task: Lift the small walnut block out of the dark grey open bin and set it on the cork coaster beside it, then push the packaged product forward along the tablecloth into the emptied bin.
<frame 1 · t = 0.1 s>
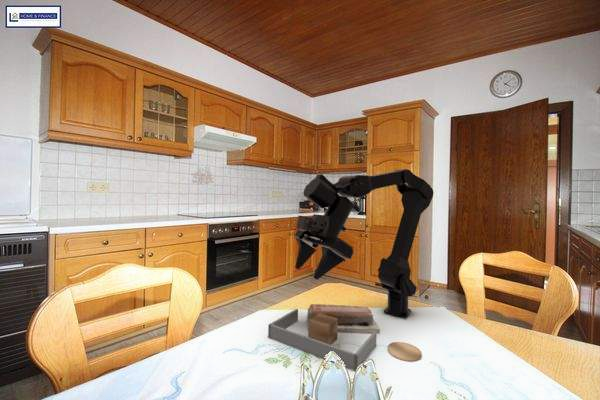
hand: (305, 273, 68), 15 cm above the table, tool tilted 30°, fingers open, 9 cm apart
coaster: (404, 352, 61), on the table
bin: (320, 341, 65), on the table
packaged product: (341, 326, 75), on the table
block: (322, 340, 66), resting in bin
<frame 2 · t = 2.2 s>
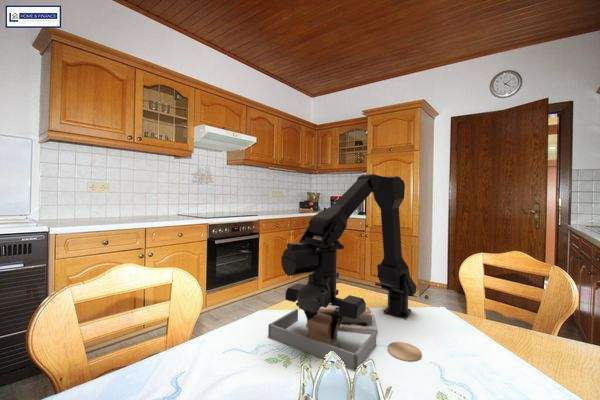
hand: (322, 335, 66), 1 cm above the table, tool pointing down, fingers closed on block, 5 cm apart
block: (322, 340, 66), resting in bin, touching gripper
when the fingers open (2 cm above the table, at t = 6.4 s): block stays where it is, resting on coaster.
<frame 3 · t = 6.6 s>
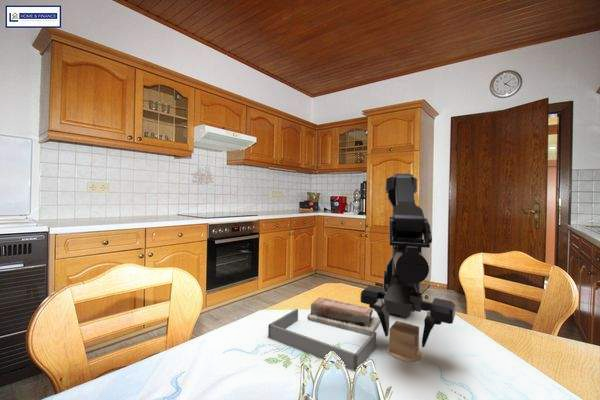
hand: (404, 341, 61), 2 cm above the table, tool pointing down, fingers open, 7 cm apart
packaged product: (343, 322, 77), on the table
block: (404, 350, 61), resting on coaster
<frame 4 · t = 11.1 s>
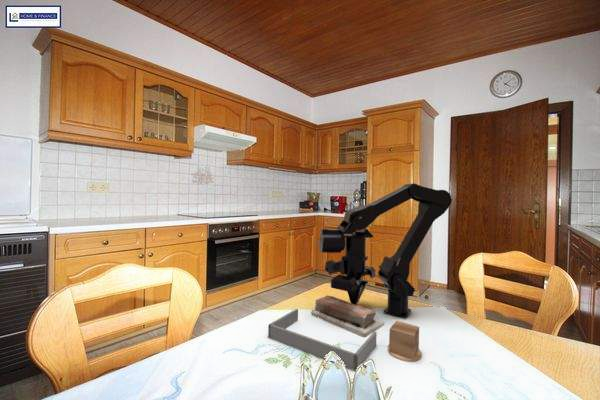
hand: (353, 306, 81), 2 cm above the table, tool pointing down, fingers closed
packaged product: (345, 322, 77), on the table, touching gripper
everything else where it was.
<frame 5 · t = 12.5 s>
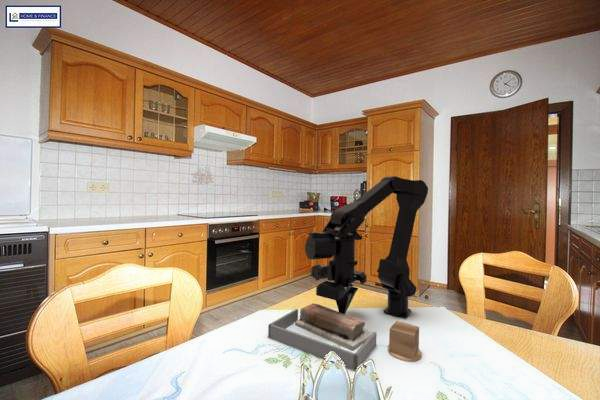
hand: (342, 315, 75), 2 cm above the table, tool pointing down, fingers closed
packaged product: (332, 333, 71), resting in bin
everything else where it was.
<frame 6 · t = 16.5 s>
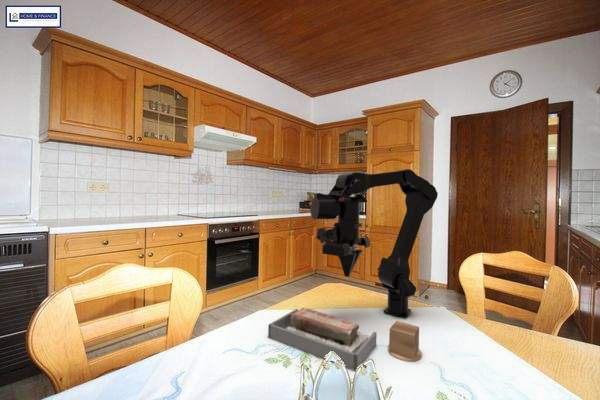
hand: (347, 276, 77), 12 cm above the table, tool pointing down, fingers closed
packaged product: (325, 338, 68), resting in bin
everything else where it was.
at the end: block 0.2 cm from the coaster (horizontally); block resting on coaster; packaged product inside the target area on the bin (3.1 cm from its centre), point -0.7 cm above the bin's base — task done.
